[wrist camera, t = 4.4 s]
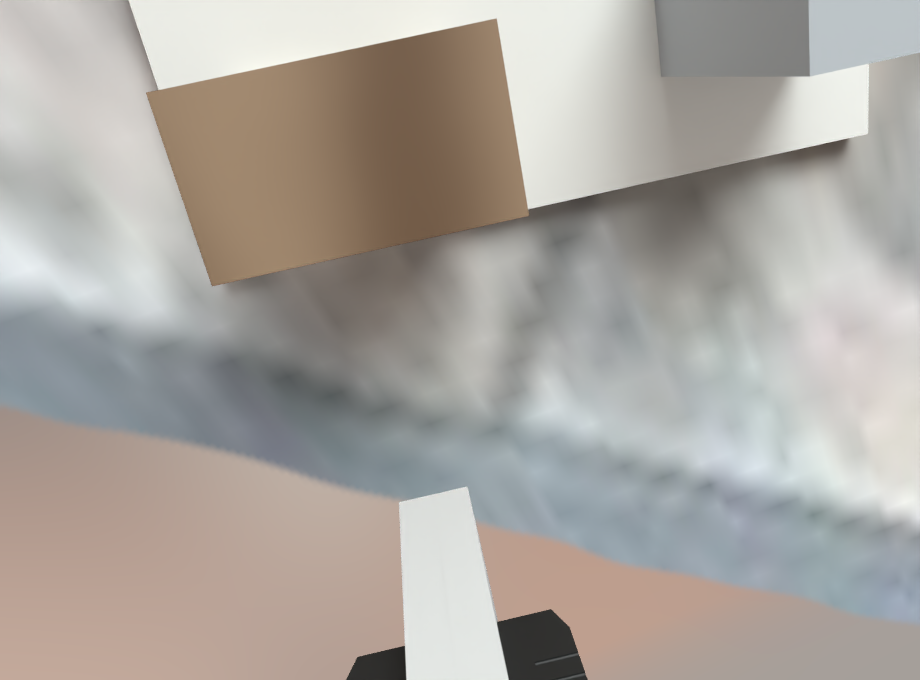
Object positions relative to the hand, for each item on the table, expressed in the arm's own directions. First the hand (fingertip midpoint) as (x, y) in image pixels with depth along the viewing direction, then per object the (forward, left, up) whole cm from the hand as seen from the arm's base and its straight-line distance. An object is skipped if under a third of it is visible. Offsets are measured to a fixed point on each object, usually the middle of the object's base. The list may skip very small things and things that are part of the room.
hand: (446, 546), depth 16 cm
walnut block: (0, +8, -12) cm, 15 cm away
